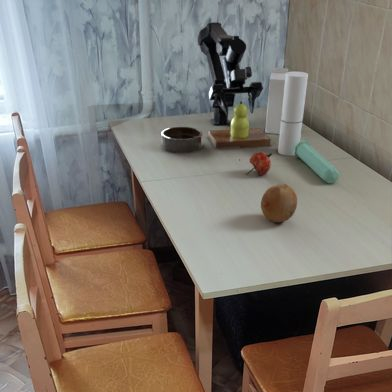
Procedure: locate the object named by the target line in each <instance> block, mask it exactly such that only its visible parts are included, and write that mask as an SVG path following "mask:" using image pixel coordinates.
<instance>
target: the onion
mask: <svg viewBox="0 0 392 392" xmlns="http://www.w3.org/2000/svg"><path fill="white" fill-rule="evenodd" d="M297 207H298V197H297V194H296V192H295V190H294V188H292V187H291V186H289V185H288V184H286V183H279V184H274V185H272V186H271V187H268V188H267V189H266V190H265V191H264V193H263V195H262V197H261V201H260V209H261V213H262V215H263V216H264V217H265V218H266V220H268V221H270V222H273V223H282V222H283V223H284V222H286V221H288V220H290V219H291V218H292V217H293V216H294V214H295V212H296V211H297Z"/></svg>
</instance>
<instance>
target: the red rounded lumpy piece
mask: <svg viewBox="0 0 392 392" xmlns="http://www.w3.org/2000/svg"><path fill="white" fill-rule="evenodd" d="M272 156H273V153H271V152H270V153H269V154H266V152H262V151H257V152H254V153H252V155H251V156H250V158H249V163H250V164H251V165H252V169H250V170H249V171H248V172H246V173H245V175H248V174H250V173H251V172H252V171H254V170H255V172H257V174H258V175H260V176H264V175H267V173H268V172H269V171H270V169H271V166H272V161H271V159H270V158H271V157H272Z"/></svg>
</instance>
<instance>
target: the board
mask: <svg viewBox="0 0 392 392" xmlns="http://www.w3.org/2000/svg"><path fill="white" fill-rule="evenodd" d="M207 135H208V138H209V140H210V141H211V143H212V144H213V146H214V148H215V149H223V148H225V149H226V148H241V149H245V148H260V147H263V148H264V147H271V141H272V140H271V138H270V137H269V135H268V134H267V133H265V131H264V130H263V129H262V128H261V127H253V128H251V127H249V131H248V136H247V137H245V138H235V137H232V136H231V129H215V130H208V133H207Z"/></svg>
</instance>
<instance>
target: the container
mask: <svg viewBox="0 0 392 392" xmlns="http://www.w3.org/2000/svg"><path fill="white" fill-rule="evenodd" d="M294 154H295V155H294V156H296V158H298V159H301V160H302V162H304V163H305V164H306V165H307V166H308V167H309V168H310V169H311V170H312V171H313V172H314V173H315V174H316V175H317V176H318V177H319V178H321V180H323V181H324V182H325V184H335V183H336V182H337V181H338V180H339V174H340V173H339V171H338V170H337V169H336V167H335V166H333V165H332V164H331V163H330V162H329V161H327V160H326V159H325V158H324V157H323V156H322V155H321V154H319V152H317V151H316V150H315V149H314V148H313V147H312V146H311V144H309V142H308V141H307V140H300V142H299V143H298V144H297V145H296V146H295V150H294Z"/></svg>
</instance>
